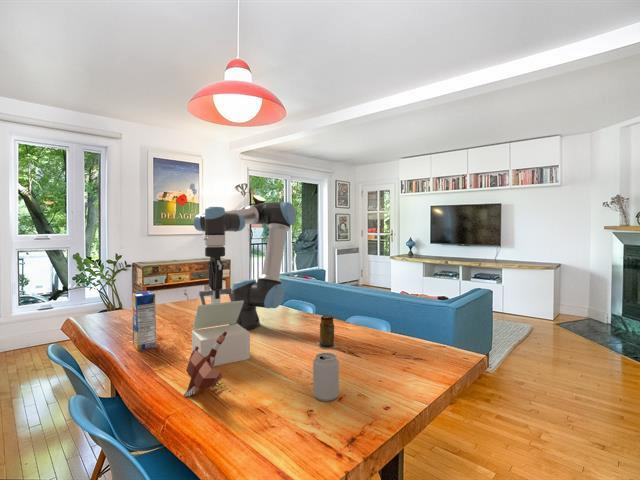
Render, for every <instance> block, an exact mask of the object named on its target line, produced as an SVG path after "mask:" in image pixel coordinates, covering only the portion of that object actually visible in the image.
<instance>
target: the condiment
mask: <svg viewBox="0 0 640 480" xmlns="http://www.w3.org/2000/svg"><path fill="white" fill-rule="evenodd" d="M316 345H317V346H319V347H320V348H321V349H323V350H328V349H336V348H339V345H337V344H336V343H335V323H334V317H333V316H332V315H327V314H326V315H322V316H320V323H319V341H318V342H316Z"/></svg>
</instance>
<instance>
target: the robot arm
mask: <svg viewBox="0 0 640 480" xmlns="http://www.w3.org/2000/svg"><path fill="white" fill-rule="evenodd" d="M192 222H193V227H194V228H195V230H197V231H199V232H204V238H203V241H204V243H205V246H206V247H205V248H204V256H205V257H206V258H209V261H208V262H207V268H208V272H207V273H208V287H209V288H210V290H212V291H213V295H210V304H216V303H221V294H220V290H221V289H223V279H224V278H223V277H224V264H223V262H222V259H221V258H223V257H225V256H226V248H225V246H226V232H234V233H236V232H241V231H243V230H244V229H245V227H246V225H248V224H249V225H265V226H267V228H268V229H269V233H268V238H267V244H266V248H265V255H264V259H263V260H264V261H263V266H262V272H261V273H262V274H261V276H259V277H258V278H257V279H255V278H253V279H252V278H251V279H243V280H236V281H234V282H232V288H231V290H232V295H233V298H234V301H242V300H243V301H244V303H243V306H242V308H241V311H240V314H239V316H238V319H237V322H236V323H234V324H238V325H240V326H241V327H243V328H244V329H246V330H251V329H252V330H253V329H256V328H258V327H259V326H260V324H261V322H260V318H259V315H258V312H257V308H265V309H277V308H278V307H280V306H281V304H282V303H283V301H284V299H285V294H286V293H285V292H286V291H285V287H284V285H283V284H282V280H281V278H280V276H281V269H282V262H283V256H284V249H285V243H286V237H287V232H289V231H290V230H291V226H292V225H295V223H296V222H297V212H296V208H295V206H294V205H293V204H292V203H291V202H289V201H279V202H277V201H275V202H274V201H273V202H262V203H258V204H253V205H248V206H246V207H245V208H239V209H231V210H226V209H225V207H222V206H207V207H205V209H204V213H198V214H197V215H195V217H194V218H193V221H192ZM228 325H233V324H228Z"/></svg>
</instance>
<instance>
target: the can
mask: <svg viewBox="0 0 640 480" xmlns="http://www.w3.org/2000/svg"><path fill="white" fill-rule="evenodd" d="M337 357H338V356H337V354H335V353H332V352H321V353H320V352H319V353H317V354H315V358H314V359H313V362H312V364H313V365H312V367H313V368H312V369H313V370H312V371H313V372H312V375H313V377H312V378H313V379H312V380H313V382H312V386H313V387H312V390H313V391H312V392H313V393H312V394H313V396H314V397H315V398H316V399H317V400H319V401H322V402H331V401H333V400H335V399H336V398H338V396H339V394H340V391H339V389H340V386H339V385H340V384H339V383H340V379H339V378H340V376H339V375H340V372H339V371H340V364H339V362H340V361H339V360H338V358H337Z"/></svg>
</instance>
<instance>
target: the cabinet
mask: <svg viewBox="0 0 640 480" xmlns="http://www.w3.org/2000/svg"><path fill="white" fill-rule="evenodd" d="M224 332H227V334H226V336H225V340H224V341H223V343H222V344H221V345H220V346H219V348H218V350H217V353H216V356H215V364H214V367H215V366H221V365H225V364H231V363H236V362H241V361H245V360H250V359H251V332H250V331H249V330H248V329H244V328H243V327H241V326H240V325H238V324H233V325H229V324H227V325H221V326H214V327H207V328H201V329H194V330H193V329H192V330H191V353H193V351H195V350H194V348H195V347H196V346H197V347H199V349H198V352H199V353H200V354H201V355H202V356H203V357H206V356H208V355H209V353H210V351H211V349H212V347H213V346H214V344H215V343H216V341H217V339H218V338H219V336H221V335H222V334H223V333H224Z"/></svg>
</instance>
